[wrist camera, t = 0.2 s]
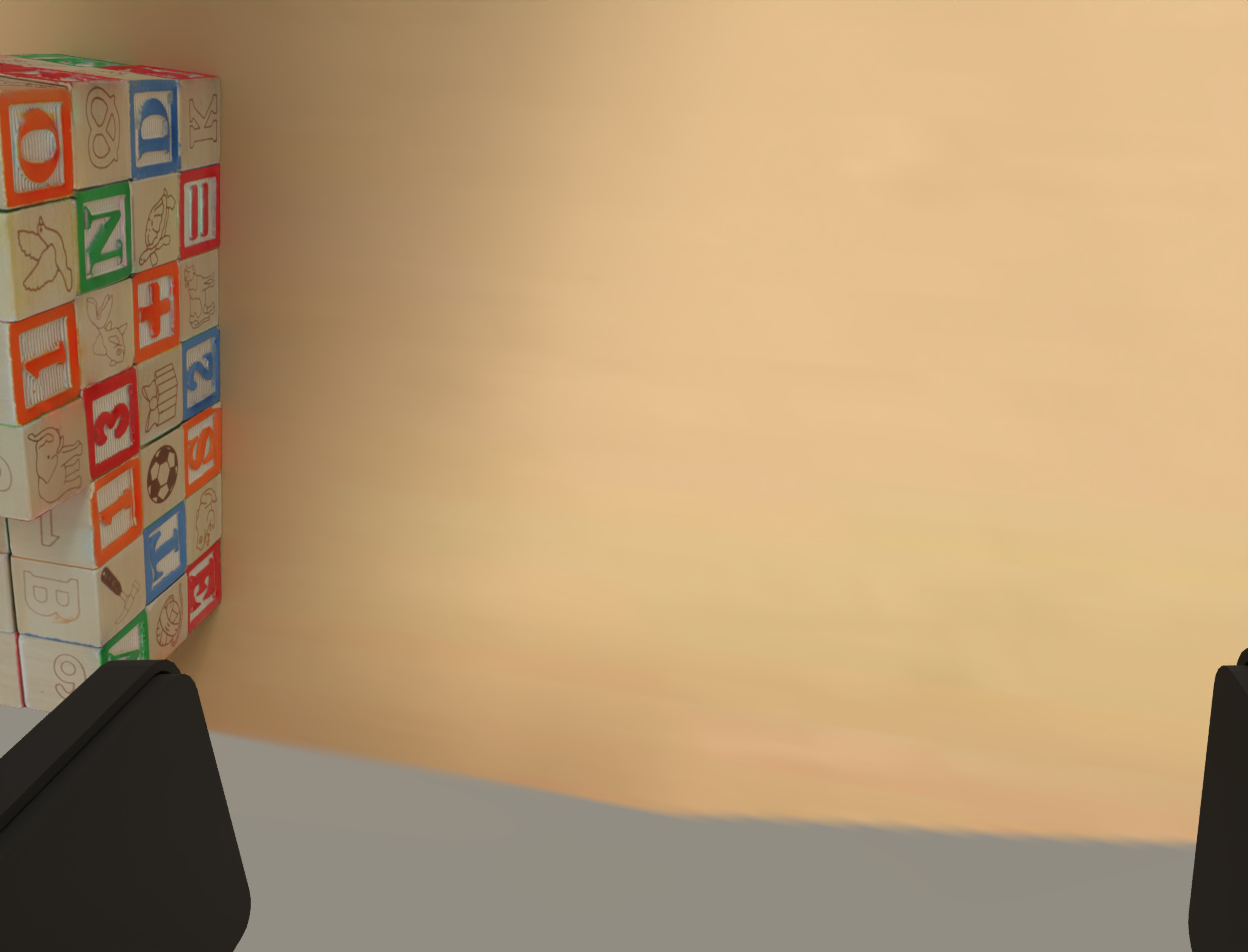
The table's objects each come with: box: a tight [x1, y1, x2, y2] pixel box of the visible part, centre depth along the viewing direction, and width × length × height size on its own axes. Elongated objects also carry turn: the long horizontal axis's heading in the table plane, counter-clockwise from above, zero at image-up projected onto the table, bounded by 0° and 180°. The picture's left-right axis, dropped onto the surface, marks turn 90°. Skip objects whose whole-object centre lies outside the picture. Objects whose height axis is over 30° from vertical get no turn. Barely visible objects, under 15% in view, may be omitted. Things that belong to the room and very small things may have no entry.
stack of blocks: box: [0, 54, 222, 712], centre depth 38 cm, size 21×6×12 cm, turn 173°
